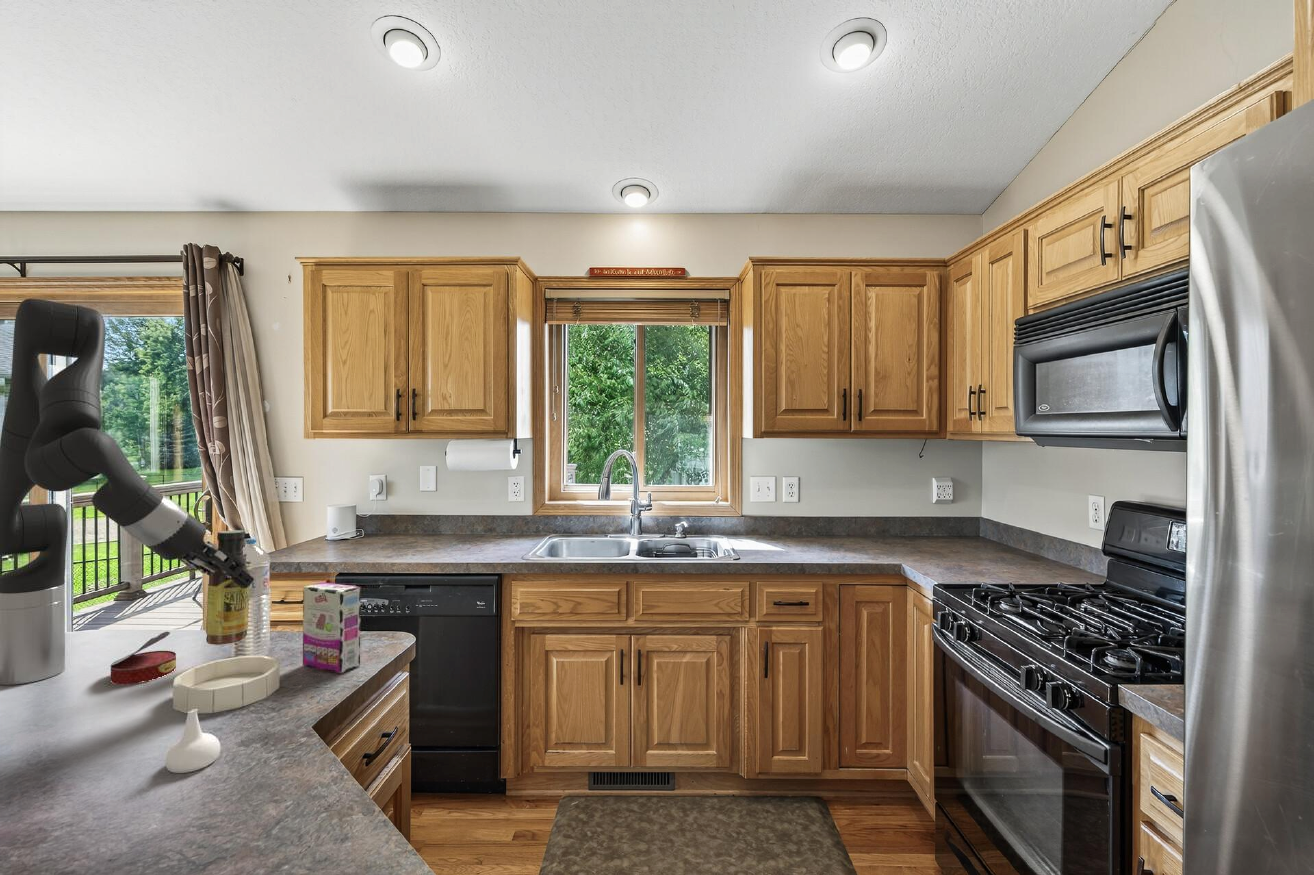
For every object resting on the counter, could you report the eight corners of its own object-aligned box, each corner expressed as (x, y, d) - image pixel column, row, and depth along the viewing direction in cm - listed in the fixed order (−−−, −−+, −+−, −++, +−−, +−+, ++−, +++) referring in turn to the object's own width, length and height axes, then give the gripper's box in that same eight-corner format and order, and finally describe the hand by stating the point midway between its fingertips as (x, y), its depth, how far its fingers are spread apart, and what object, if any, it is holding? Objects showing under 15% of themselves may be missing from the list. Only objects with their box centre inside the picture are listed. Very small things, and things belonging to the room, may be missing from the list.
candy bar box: (362, 666, 124) (362, 586, 124) (341, 675, 119) (341, 592, 119) (322, 657, 128) (323, 580, 128) (301, 666, 124) (301, 586, 123)
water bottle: (255, 662, 125) (256, 542, 125) (223, 662, 125) (223, 541, 125) (277, 650, 132) (277, 536, 132) (246, 650, 132) (246, 536, 132)
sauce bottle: (226, 648, 106) (227, 535, 106) (196, 645, 108) (197, 533, 108) (257, 636, 113) (258, 529, 113) (229, 633, 114) (230, 528, 114)
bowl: (154, 702, 107) (154, 679, 107) (246, 670, 121) (246, 650, 121) (206, 720, 100) (206, 696, 100) (297, 685, 114) (297, 664, 114)
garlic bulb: (206, 751, 92) (203, 698, 92) (230, 758, 89) (227, 703, 89) (157, 772, 86) (154, 716, 86) (181, 780, 83) (178, 721, 84)
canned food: (134, 709, 114) (104, 672, 110) (115, 690, 120) (86, 654, 115) (198, 665, 122) (172, 629, 118) (178, 649, 128) (152, 614, 123)
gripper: (207, 511, 100) (277, 568, 111) (158, 506, 106) (229, 561, 117) (170, 548, 96) (247, 604, 106) (121, 541, 102) (199, 595, 112)
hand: (237, 581), depth 112 cm, fingers closed on sauce bottle, 6 cm apart
